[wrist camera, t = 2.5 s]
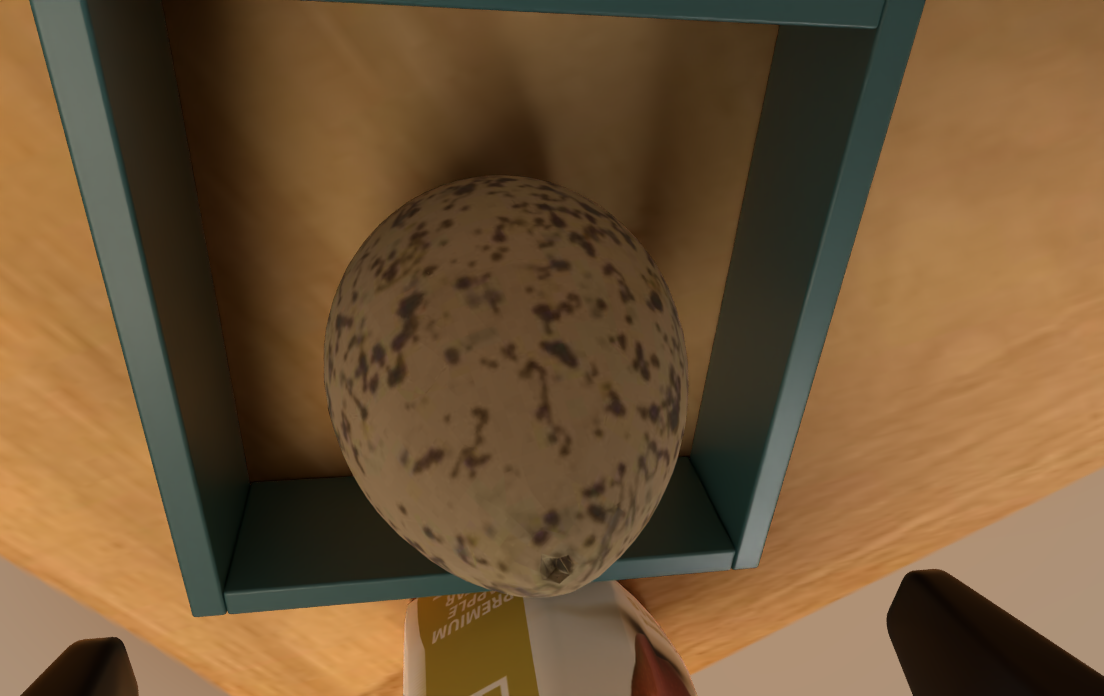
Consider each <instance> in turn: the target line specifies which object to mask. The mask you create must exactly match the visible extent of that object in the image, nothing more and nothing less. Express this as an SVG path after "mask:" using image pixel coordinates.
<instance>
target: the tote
mask: <svg viewBox="0 0 1104 696" xmlns="http://www.w3.org/2000/svg"><path fill="white" fill-rule="evenodd" d="M29 1H30V5H31V9H32V12H33V16H34V20H35V24H36V27H37V31H38V35H39V39H40V43H41V46H42V50H43V54H44V58H45V61H46V65H47V69H48V73H49V76H50V80H51V84H52V88H53V91H54V95H55V99H56V103H57V107H58V110H59V114H60V118H61V122H62V125H63V129H64V133H65V137H66V140H67V144H68V148H69V152H70V155H71V159H72V163H73V167H74V171H75V174H76V178H77V182H78V186H79V189H80V193H81V197H82V201H83V204H84V208H85V212H86V216H87V219H88V223H89V227H90V231H91V234H92V238H93V242H94V246H95V250H96V253H97V257H98V261H99V265H100V268H101V272H102V276H103V280H104V283H105V287H106V291H107V295H108V298H109V302H110V306H111V310H112V314H113V317H114V321H115V325H116V329H117V332H118V336H119V340H120V344H121V347H122V351H123V355H124V359H125V362H126V366H127V370H128V374H129V378H130V381H131V385H132V389H133V393H134V396H135V400H136V404H137V408H138V411H139V415H140V419H141V423H142V426H143V430H144V434H145V438H146V442H147V445H148V449H149V453H150V457H151V460H152V464H153V468H154V472H155V475H156V479H157V483H158V487H159V490H160V494H161V498H162V502H163V505H164V509H165V513H166V517H167V521H168V524H169V528H170V532H171V536H172V539H173V543H174V547H175V551H176V554H177V558H178V562H179V566H180V569H181V573H182V577H183V581H184V585H185V588H186V592H187V596H188V600H189V603H190V607H191V611H192V615H193V616H194V617H204V616H216V615H224V614H226V613H227V611H228V613H229V614H239V613H251V612H262V611H273V610H285V609H296V608H307V607H318V606H330V605H341V604H352V603H364V602H375V601H386V600H398V599H409V598H420V597H432V596H443V595H454V594H465V593H477V592H488V591H492V590H489V589H486V588H483V587H481V586H478V585H475V584H472V583H470V582H467V581H465V580H463V579H461V578H459V577H457V576H455V575H453V574H451V573H450V572H448V571H447V570H445V569H443V568H442V567H440V566H438V565H437V564H435V563H434V562H432V561H430V560H429V559H428V558H427V557H425V556H424V555H423V554H421V553H420V552H419V551H418V550H417V549H415V548H414V547H413V546H412V545H410V544H409V543H408V542H407V541H406V540H404V539H403V538H402V537H401V536H399V535H398V533H397V532H396V531H395V530H394V529H393V528H392V527H391V526H390V525H389V524H388V523H387V522H386V521H385V520H384V519H383V517H382V516H381V515H380V514H379V513H378V512H377V511H376V509H375V508H374V507H373V505H372V504H371V503H370V501H369V500H368V499H367V497H366V496H365V494H364V493H363V491H362V490H361V488H360V486H359V485H358V483H357V481H356V480H355V478H354V476H349V477H332V478H315V479H298V480H281V481H264V482H253V483H251V485H250V482H249V476H248V471H247V465H246V460H245V454H244V449H243V443H242V438H241V432H240V427H239V421H238V416H237V410H236V405H235V399H234V394H233V389H232V383H231V378H230V372H229V367H228V361H227V356H226V350H225V345H224V339H223V334H222V328H221V323H220V317H219V312H218V306H217V301H216V295H215V290H214V285H213V279H212V274H211V268H210V263H209V257H208V252H207V246H206V241H205V235H204V230H203V224H202V219H201V213H200V208H199V202H198V197H197V192H196V186H195V181H194V175H193V170H192V164H191V159H190V153H189V148H188V142H187V137H186V131H185V126H184V120H183V115H182V109H181V104H180V99H179V93H178V88H177V82H176V77H175V71H174V66H173V60H172V55H171V49H170V44H169V38H168V33H167V27H166V22H165V16H164V11H163V6H162V0H29ZM302 1H322V2H342V3H362V4H381V5H401V6H421V7H440V8H460V9H480V10H499V11H519V12H539V13H559V14H578V15H598V16H618V17H637V18H657V19H677V20H696V21H716V22H736V23H755V24H775V25H780V26H779V31H778V36H777V41H776V46H775V50H774V55H773V60H772V65H771V70H770V74H769V79H768V84H767V89H766V94H765V99H764V103H763V108H762V113H761V118H760V123H759V127H758V132H757V137H756V142H755V147H754V151H753V156H752V161H751V166H750V171H749V175H748V180H747V185H746V190H745V195H744V199H743V204H742V209H741V214H740V219H739V224H738V228H737V233H736V238H735V243H734V248H733V252H732V257H731V262H730V267H729V272H728V276H727V281H726V286H725V291H724V296H723V300H722V305H721V310H720V315H719V320H718V325H717V329H716V334H715V339H714V344H713V349H712V353H711V358H710V363H709V368H708V373H707V377H706V382H705V387H704V392H703V397H702V401H701V406H700V411H699V416H698V421H697V425H696V430H695V435H694V440H693V445H692V450H691V454H690V459H689V457H678V458H677V461H676V464H675V467H674V470H673V473H672V475H671V478H670V480H669V482H668V485H667V487H666V490H665V492H664V494H663V496H662V498H661V500H660V502H659V504H658V506H657V508H656V509H655V511H654V513H653V515H652V516H651V518H650V520H649V522H648V523H647V525H646V526H645V527H644V529H643V530H642V531H641V533H640V534H639V535H638V537H637V538H636V539H635V541H634V542H633V543H632V544H631V545H630V546H629V548H628V549H627V550H626V551H625V552H624V553H623V554H622V556H621V557H620V558H619V559H617V560H616V561H615V562H614V563H613V564H612V565H611V566H610V567H609V568H608V569H607V570H606V571H605V572H604V573H602V574H601V575H600V576H599V577H598V578H596V579H594V580H593V581H591V582H601V581H613V580H624V579H635V578H646V577H658V576H669V575H680V574H692V573H703V572H714V571H726V570H730V569H731V568H732V569H734V570H737V569H748V568H756V567H758V565H759V562H760V558H761V555H762V551H763V548H764V545H765V541H766V538H767V535H768V531H769V528H770V524H771V521H772V518H773V514H774V511H775V508H776V504H777V501H778V497H779V494H780V491H781V487H782V484H783V481H784V477H785V474H786V470H787V467H788V464H789V460H790V457H791V454H792V450H793V447H794V443H795V440H796V437H797V433H798V430H799V427H800V423H801V420H802V416H803V413H804V410H805V406H806V403H807V400H808V396H809V393H810V389H811V386H812V383H813V379H814V376H815V373H816V369H817V366H818V362H819V359H820V356H821V352H822V349H823V346H824V342H825V339H826V335H827V332H828V329H829V325H830V322H831V319H832V315H833V312H834V308H835V305H836V302H837V298H838V295H839V292H840V288H841V285H842V281H843V278H844V275H845V271H846V268H847V265H848V261H849V258H850V254H851V251H852V248H853V244H854V241H855V238H856V234H857V231H858V227H859V224H860V221H861V217H862V214H863V211H864V207H865V204H866V200H867V197H868V194H869V190H870V187H871V184H872V180H873V177H874V173H875V170H876V167H877V163H878V160H879V157H880V153H881V150H882V146H883V143H884V140H885V136H886V133H887V130H888V126H889V123H890V119H891V116H892V113H893V109H894V106H895V103H896V99H897V96H898V92H899V89H900V86H901V82H902V79H903V76H904V72H905V69H906V65H907V62H908V59H909V55H910V52H911V49H912V45H913V42H914V38H915V35H916V32H917V28H918V25H919V22H920V18H921V15H922V11H923V8H924V5H925V1H926V0H302ZM589 583H590V582H589Z"/></svg>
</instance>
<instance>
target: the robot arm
mask: <svg viewBox="0 0 1104 696" xmlns="http://www.w3.org/2000/svg"><path fill="white" fill-rule="evenodd" d="M887 629H888V633H889V636H890V639H891V641H892V644H893V646H894V649H895V651H896V654H897V656H898V659H899V662H900V664H901V667H902V669H903V672H904V674H905V677H906V679H907V682H908V684H909V686H910V689H911V692H912V694H913V696H1104V676H1102V675H1101V674H1100V673H1098V672H1096V671H1095V670H1094V669H1092V668H1091V667H1089V666H1087V665H1086V664H1085V663H1083V662H1081V661H1080V660H1078V659H1077V658H1075V657H1074V656H1072V655H1071V654H1069V653H1068V652H1066V651H1065V650H1063V649H1062V648H1060V647H1059V646H1057V645H1056V644H1054V643H1053V642H1051V641H1050V640H1048V639H1047V638H1045V637H1044V636H1042V635H1040V634H1039V633H1038V632H1036V631H1035V630H1033V629H1031V628H1030V627H1029V626H1027V625H1026V624H1024V623H1023V622H1021V621H1020V620H1018V619H1017V618H1015V617H1014V616H1012V615H1011V614H1009V613H1008V612H1006V611H1005V610H1003V609H1001V608H1000V607H998V606H997V605H995V604H994V603H992V602H991V601H989V600H988V599H986V598H985V597H983V596H982V595H980V594H979V593H977V592H976V591H974V590H973V589H971V588H970V587H968V586H967V585H965V584H964V583H962V582H961V581H959V580H958V579H956V578H955V577H953V576H952V575H950V574H948V573H947V572H945V571H942V570H939V569H928V570H916V571H911V572H909V573H907V574H906V575H905V577H904V578H903V580H902V582H901V584H900V587H899V589H898V591H897V593H896V596H895V598H894V600H893V602H892V604H891V606H890V608H889V611H888V613H887ZM20 696H138V685H137V681H136V679H135V676H134V673H133V669H132V666H131V663H130V661H129V657H128V654H127V652H126V649H125V646H124V644H123V642H122V641H121V640H120V639H118V638H117V637H108V638H96V639H84V640H79V641H77V642H75V643H73V644H72V645H70V646H69V647H68V648H67V649H66V650H65V651H64V652H63V653H62V654H61V655H60V656H59V657H58V658H57V659H56V660H55V661H54V662H53V663H52V664H51V665H50V666H49V667H48V668H47V669H46V670H45V671H44V672H43V673H42V674H41V675H40V676H39V677H38V678H37V679H36V680H35V681H34V682H33V683H32V684H31V685H30V686H29V687H28V688H27V689H26V690H25V691H24V692H23V694H22V695H20Z"/></svg>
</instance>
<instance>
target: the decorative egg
mask: <svg viewBox="0 0 1104 696" xmlns="http://www.w3.org/2000/svg"><path fill="white" fill-rule="evenodd" d="M324 383H325V390H326V396H327V402H328V410H329V414H330V417H331V421H332V424H333V428H334V431H335V434H336V437H337V440H338V443H339V445H340V448H341V451H342V453H343V455H344V458H345V460H346V462H347V464H348V466H349V468H350V470H351V472H352V474H353V476H354V478H355V480H356V481H357V483H358V485H359V486H360V488H361V490H362V491H363V493H364V494H365V496H366V497H367V499H368V500H369V501H370V503H371V504H372V505H373V507H374V508H375V509H376V511H377V512H378V513H379V514H380V515H381V516H382V517H383V519H384V520H385V521H386V522H387V523H388V524H389V525H390V526H391V527H392V528H393V529H394V530H395V531H396V532H397V533H398V535H399V536H401V537H402V538H403V539H404V540H406V541H407V542H408V543H409V544H410V545H412V546H413V547H414V548H415V549H417V550H418V551H419V552H420V553H421V554H423V555H424V556H425V557H427V558H428V559H429V560H430V561H432V562H434V563H435V564H437V565H438V566H440V567H442V568H443V569H445V570H447V571H448V572H450V573H451V574H453V575H455V576H457V577H459V578H461V579H463V580H465V581H467V582H470V583H472V584H475V585H478V586H481V587H483V588H486V589H489V590H492V591H496V592H499V593H503V594H507V595H513V596H518V597H527V598H542V597H552V596H559V595H563V594H567V593H571V592H574V591H575V590H577V589H579V588H581V587H583V586H584V585H586V584H588V583H589V582H591V581H593V580H594V579H596V578H598V577H599V576H600V575H601V574H602V573H604V572H605V571H606V570H607V569H608V568H609V567H610V566H611V565H612V564H613V563H614V562H615V561H616V560H617V559H619V558H620V557H621V556H622V554H623V553H624V552H625V551H626V550H627V549H628V548H629V546H630V545H631V544H632V543H633V542H634V541H635V539H636V538H637V537H638V535H639V534H640V533H641V531H642V530H643V529H644V527H645V526H646V525H647V523H648V522H649V520H650V518H651V516H652V515H653V513H654V511H655V509H656V508H657V506H658V504H659V502H660V500H661V498H662V496H663V494H664V492H665V490H666V487H667V485H668V482H669V480H670V478H671V475H672V473H673V470H674V467H675V464H676V461H677V458H678V454H679V450H680V446H681V442H682V438H683V435H684V430H685V423H686V417H687V408H688V386H689V384H688V361H687V353H686V347H685V341H684V334H683V330H682V326H681V323H680V320H679V316H678V313H677V309H676V306H675V304H674V301H673V298H672V296H671V293H670V290H669V288H668V286H667V284H666V282H665V280H664V278H663V276H662V274H661V272H660V270H659V268H658V267H657V265H656V264H655V262H654V261H653V259H652V258H651V256H650V255H649V254H648V253H647V251H646V250H645V249H644V247H643V246H642V245H641V243H640V242H639V241H638V239H637V238H636V237H635V236H634V235H633V234H632V233H631V232H630V231H629V230H628V229H627V228H626V227H625V226H624V225H623V224H622V223H621V222H620V221H618V220H617V219H616V218H615V217H614V216H612V215H611V214H610V213H609V212H607V211H606V210H604V209H603V208H602V207H600V206H599V205H597V204H596V203H595V202H593V201H591V200H589V199H587V198H586V197H584V196H582V195H580V194H578V193H576V192H574V191H571V190H569V189H567V188H564V187H562V186H559V185H556V184H554V183H551V182H547V181H543V180H538V179H534V178H530V177H519V176H507V175H491V176H481V177H474V178H468V179H463V180H458V181H455V182H452V183H448V184H445V185H442V186H440V187H437V188H435V189H432V190H430V191H427V192H425V193H423V194H421V195H420V196H418V197H416V198H414V199H413V200H411V201H409V202H407V203H406V204H405V205H403V206H402V207H401V208H399V209H398V210H396V211H395V212H394V213H392V214H391V215H390V216H389V217H388V218H387V219H385V220H384V221H383V222H382V223H381V224H380V225H379V226H378V227H377V228H376V229H375V230H374V231H373V232H372V234H371V235H370V236H369V237H368V238H367V239H366V240H365V241H364V243H363V244H362V246H361V247H360V248H359V250H358V251H357V253H356V254H355V256H354V258H353V259H352V261H351V262H350V264H349V266H348V267H347V269H346V271H345V273H344V275H343V277H342V280H341V282H340V284H339V286H338V289H337V292H336V294H335V297H334V299H333V303H332V307H331V311H330V314H329V318H328V323H327V327H326V335H325V343H324Z"/></svg>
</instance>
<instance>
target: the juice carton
mask: <svg viewBox="0 0 1104 696" xmlns="http://www.w3.org/2000/svg"><path fill="white" fill-rule="evenodd" d="M403 696H697V693H696V691H695V688H694V685H693V683H692V680H691V677H690V675H689V672H688V670H687V668H686V666H685V664H684V662H683V660H682V658H681V656H680V655H679V653H678V652H677V650H676V649H675V647H674V646H673V644H672V643H671V641H670V640H669V639H668V637H667V636H666V634H665V633H664V631H663V630H662V629H661V627H660V626H659V624H658V623H657V622H656V620H655V619H654V618H653V617H652V615H651V614H650V613H649V612H648V611H647V610H646V609H645V608H644V607H643V606H642V604H641V603H640V602H639V601H638V600H637V599H636V598H635V597H634V596H633V595H632V594H630V593H629V592H628V591H627V590H626V589H625V588H624V587H623V586H622V585H620V584H619V583H618V582H617V581H616V580H613V581H601V582H590V583H588V584H586V585H584V586H583V587H581V588H579V589H577V590H575V591H574V592H571V593H567V594H563V595H559V596H552V597H542V598H527V597H518V596H513V595H507V594H503V593H499V592H496V591H488V592H477V593H465V594H454V595H443V596H432V597H420V598H416V599H415V600H413V601H412V602H411V603H409V604H408V605H407V611H406V617H405V630H404V672H403Z"/></svg>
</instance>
